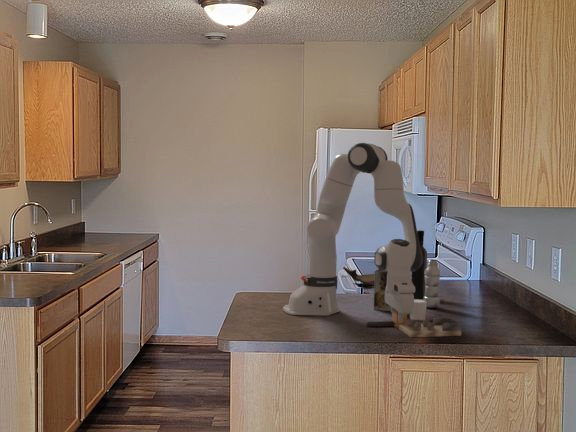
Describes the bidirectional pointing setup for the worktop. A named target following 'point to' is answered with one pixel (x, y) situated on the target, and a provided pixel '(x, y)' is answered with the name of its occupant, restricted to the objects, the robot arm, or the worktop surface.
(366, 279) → the oil lamp
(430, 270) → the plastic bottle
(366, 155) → the robot arm
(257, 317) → the worktop surface
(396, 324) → the plug
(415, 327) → the board
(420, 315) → the shot glass
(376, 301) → the coffee box
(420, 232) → the wine bottle
